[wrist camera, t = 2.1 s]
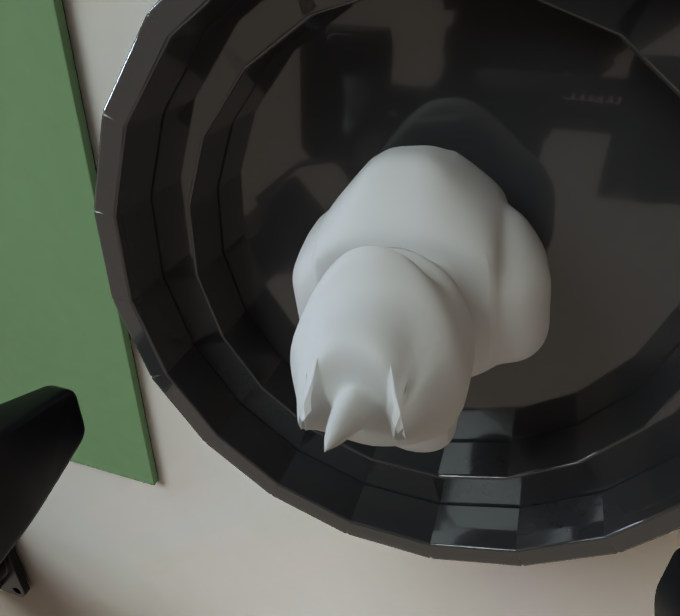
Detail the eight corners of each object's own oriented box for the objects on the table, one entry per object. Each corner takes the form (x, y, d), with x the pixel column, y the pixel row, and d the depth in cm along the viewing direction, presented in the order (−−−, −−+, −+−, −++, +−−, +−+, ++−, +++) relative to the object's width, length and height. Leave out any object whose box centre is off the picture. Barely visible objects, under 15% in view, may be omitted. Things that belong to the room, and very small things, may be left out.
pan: (671, 530, 17) (689, 635, 15) (200, 411, 21) (148, 477, 18) (988, -118, 9) (1156, -141, 6) (129, -119, 13) (19, -135, 10)
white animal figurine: (559, 113, 12) (549, 304, 6) (547, 373, 15) (532, 685, 9) (315, 128, 14) (99, 286, 8) (349, 358, 17) (218, 608, 11)
